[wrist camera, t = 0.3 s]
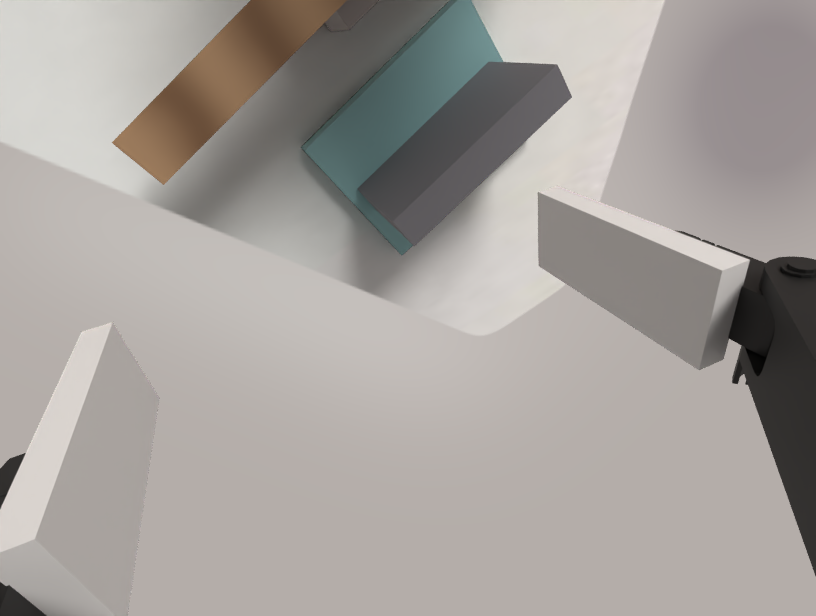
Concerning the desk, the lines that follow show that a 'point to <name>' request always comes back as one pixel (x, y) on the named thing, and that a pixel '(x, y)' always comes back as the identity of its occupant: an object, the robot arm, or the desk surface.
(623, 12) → the desk surface
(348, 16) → the riser block
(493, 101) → the stand
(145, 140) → the walnut rod
